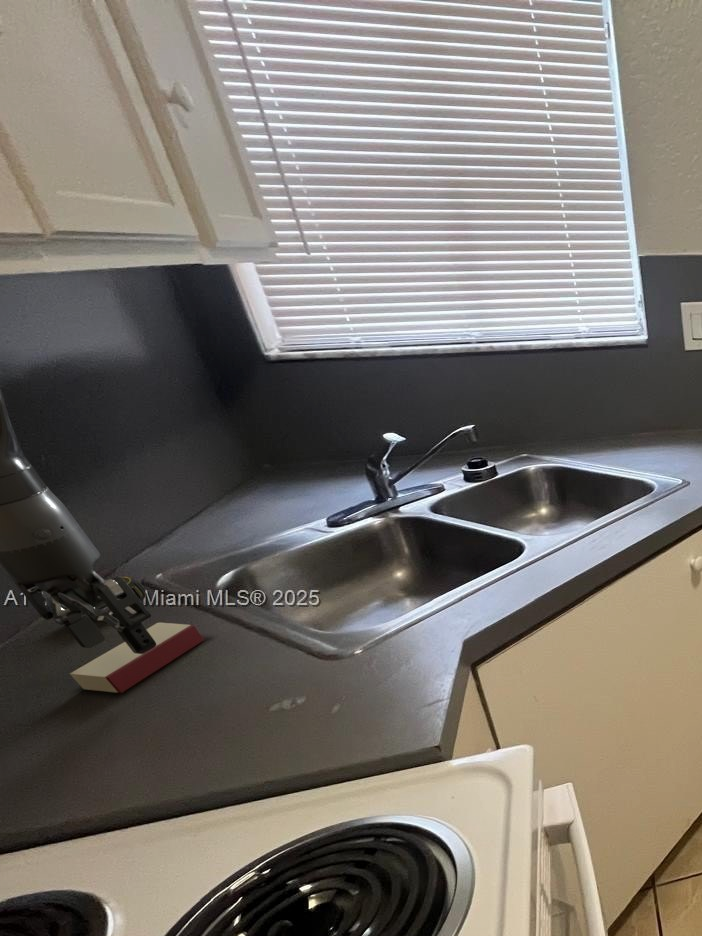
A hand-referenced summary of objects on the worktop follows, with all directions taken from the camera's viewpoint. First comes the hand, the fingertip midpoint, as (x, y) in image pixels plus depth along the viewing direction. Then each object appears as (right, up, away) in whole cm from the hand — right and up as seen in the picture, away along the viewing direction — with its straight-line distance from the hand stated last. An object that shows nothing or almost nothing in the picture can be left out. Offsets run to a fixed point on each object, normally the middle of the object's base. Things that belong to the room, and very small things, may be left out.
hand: (120, 647), depth 80 cm
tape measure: (-17, +4, +15) cm, 23 cm away
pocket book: (0, -2, +3) cm, 4 cm away
